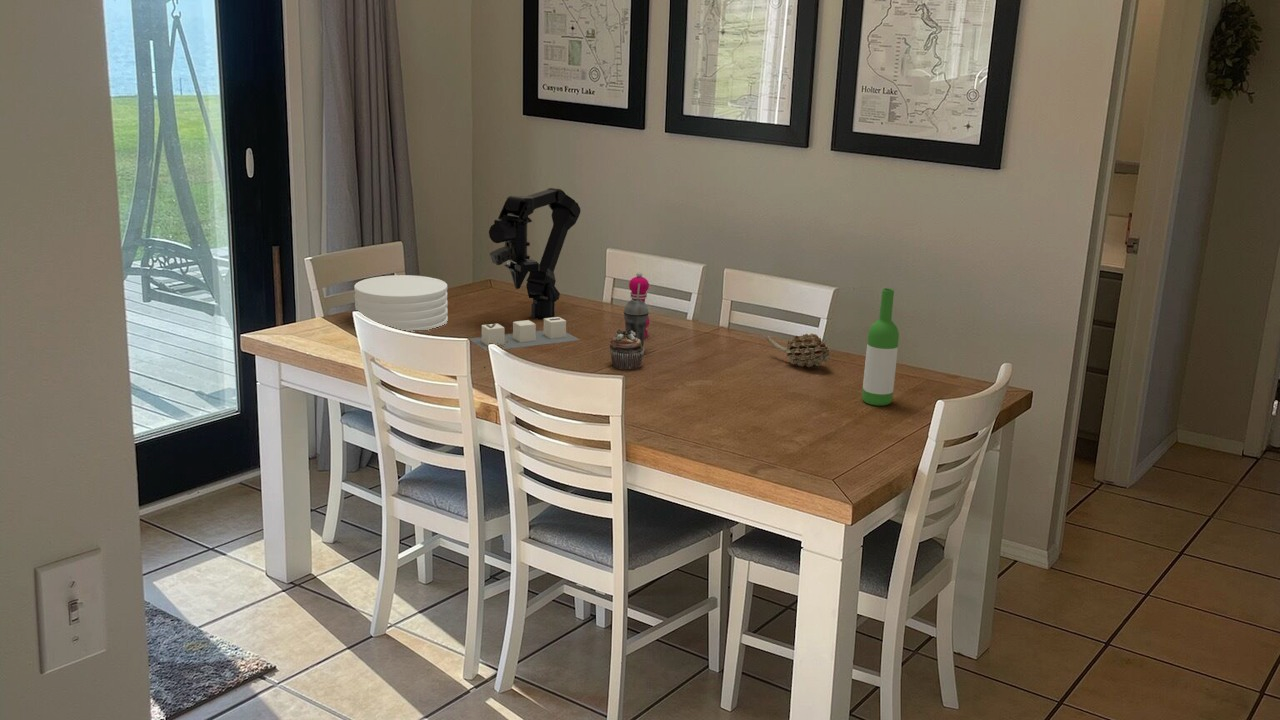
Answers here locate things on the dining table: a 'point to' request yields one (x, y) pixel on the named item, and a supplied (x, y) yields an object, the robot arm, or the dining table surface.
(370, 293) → the plate stack
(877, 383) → the wine bottle
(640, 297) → the pepper mill
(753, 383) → the dining table surface
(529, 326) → the plain block
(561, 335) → the block one
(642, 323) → the beverage cup
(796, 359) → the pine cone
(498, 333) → the block seven
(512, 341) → the mat
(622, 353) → the cupcake
